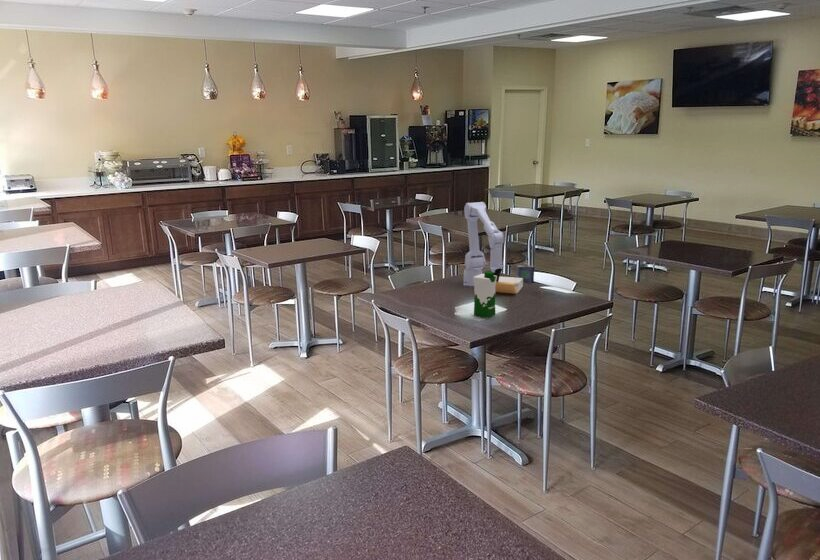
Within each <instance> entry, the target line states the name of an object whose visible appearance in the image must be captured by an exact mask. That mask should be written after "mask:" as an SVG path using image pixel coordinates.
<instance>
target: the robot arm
mask: <svg viewBox="0 0 820 560" xmlns="http://www.w3.org/2000/svg"><path fill="white" fill-rule="evenodd" d="M463 210H464V219H466V222H467V224H466V225H467V232H468V233H467V234H468V235H467V236H468V247H469V251H468V252H467V253H466V254H465V255H464V266H465V267H466V268H464V270H463V286H469V287H474V279H473V277H474V276H477V275H480V274H483V269H484V268H485V266H486V262H487V261H486V257H485V253H484V252H482V251H481V250H480V244H479V243H480V239H479V228H478V220H480V221H481V223H482V224H483V230H484V232H485V233H486V234H487V236H488V238H487V241H488V244H489V248H490V258H489V259H490V260H489V261H490V262H489V263H490V264H489V268H490V269H489V271H492V272H494V275H495V276H497V280H496V282H498V281H499V276H501V274H502V271H503V268H505V265H504V264H503V244H504V243H505V241H506V237H505V234H504V232H503V231H500V230H499V229H498V227H497V225H496V224H495V222H494V221H491V219H490V217H489V216H488V213H487V205H486V203H485V202H484V201H480V202H479V201H478V202H475V201H474V202H466V203H465V205H464V209H463Z"/></svg>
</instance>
